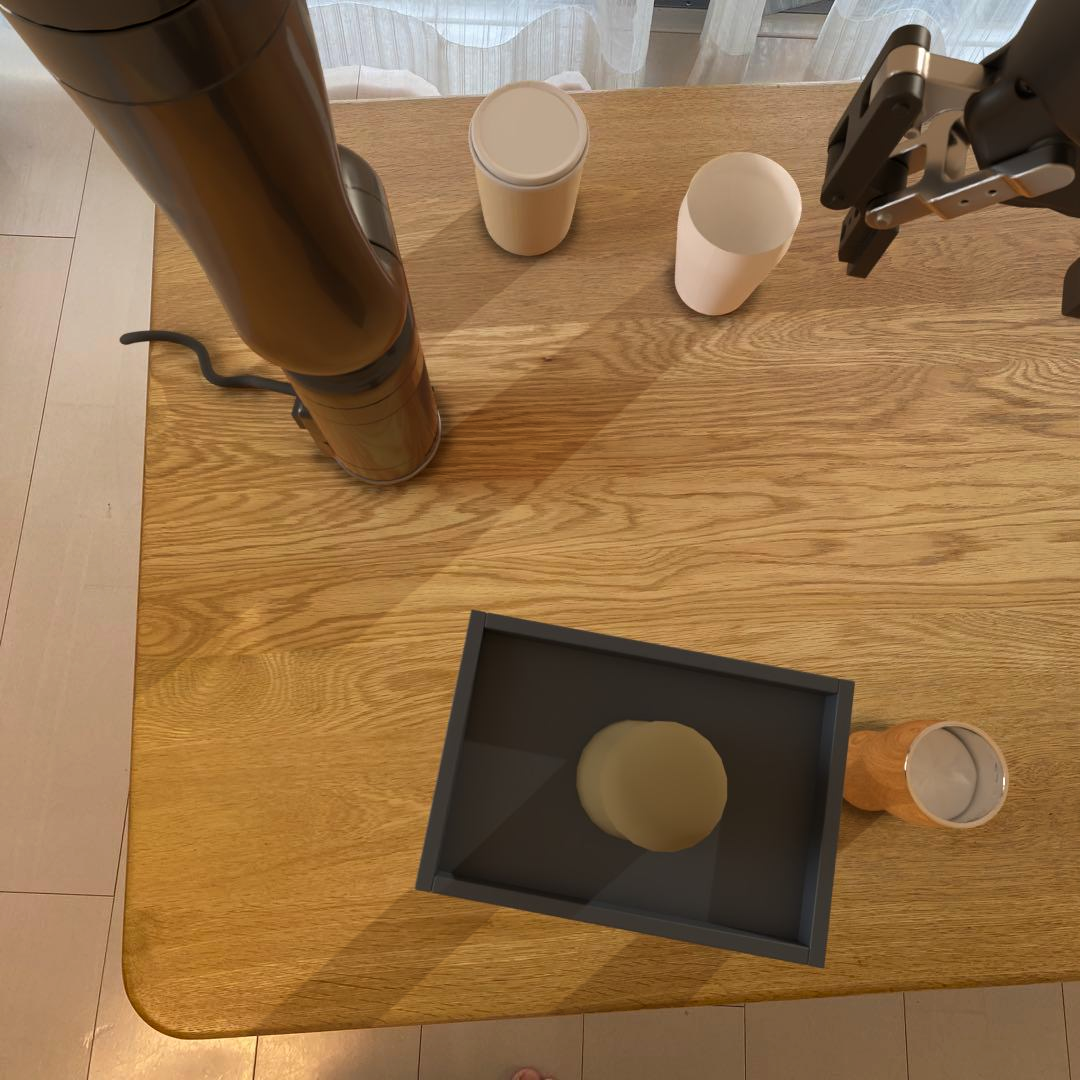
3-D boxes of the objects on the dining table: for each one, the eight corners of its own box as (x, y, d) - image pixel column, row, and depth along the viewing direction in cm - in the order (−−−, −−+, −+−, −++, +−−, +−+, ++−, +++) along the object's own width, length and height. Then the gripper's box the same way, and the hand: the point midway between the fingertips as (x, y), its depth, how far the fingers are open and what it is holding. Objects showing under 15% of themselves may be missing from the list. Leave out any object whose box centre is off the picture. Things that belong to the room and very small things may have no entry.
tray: (453, 838, 71) (414, 889, 44) (488, 661, 74) (471, 608, 47) (708, 887, 70) (824, 969, 44) (732, 707, 74) (855, 681, 47)
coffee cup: (527, 151, 84) (528, 54, 73) (602, 217, 83) (615, 129, 71) (453, 217, 83) (442, 128, 71) (528, 285, 81) (530, 206, 70)
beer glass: (888, 834, 72) (983, 854, 57) (809, 784, 72) (882, 792, 58) (928, 755, 73) (1031, 755, 58) (850, 707, 74) (932, 696, 59)
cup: (781, 267, 82) (825, 187, 70) (731, 347, 80) (767, 278, 69) (693, 217, 83) (722, 129, 71) (641, 295, 81) (662, 218, 70)
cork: (684, 853, 47) (734, 882, 36) (565, 828, 47) (579, 850, 36) (703, 731, 48) (757, 725, 37) (588, 707, 48) (608, 694, 37)
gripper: (1597, -154, 22) (1146, 227, 38) (992, -258, 22) (798, 162, 38) (1616, 120, 20) (1136, 398, 36) (962, 3, 21) (772, 329, 36)
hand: (962, 276), depth 37 cm, fingers open, 8 cm apart
